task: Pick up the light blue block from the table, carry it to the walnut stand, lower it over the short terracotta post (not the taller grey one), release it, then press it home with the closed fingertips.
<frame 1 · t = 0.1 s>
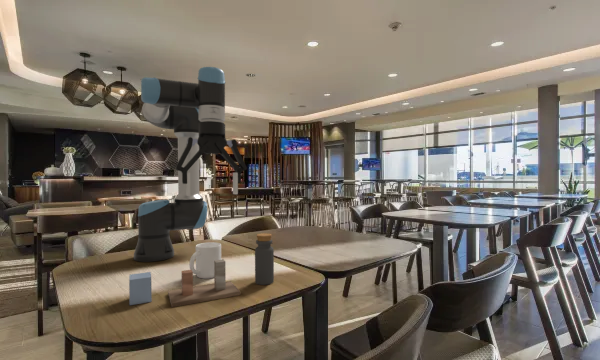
hand: (212, 195, 94), 28 cm above the table, fingers open, 13 cm apart
mug: (204, 277, 107), on the table
light blue block: (140, 300, 87), on the table
bottle: (264, 282, 101), on the table
stand: (204, 294, 91), on the table
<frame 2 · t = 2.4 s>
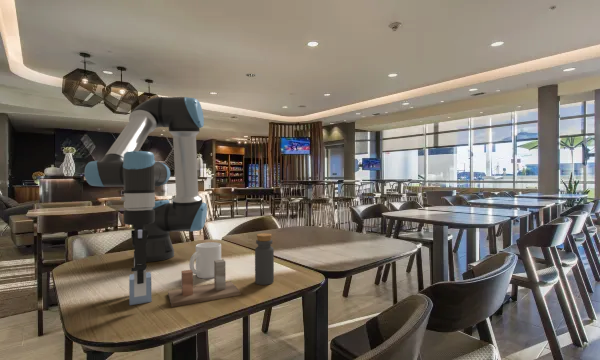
hand: (139, 287, 86), 3 cm above the table, fingers open, 13 cm apart
nothing on the table moved.
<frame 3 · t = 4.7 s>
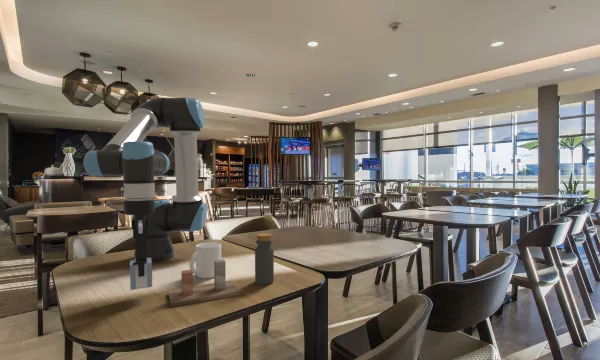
hand: (141, 283, 87), 4 cm above the table, fingers closed on light blue block, 5 cm apart
light blue block: (141, 285, 87), point 4 cm above the table, touching gripper
everything else where it was.
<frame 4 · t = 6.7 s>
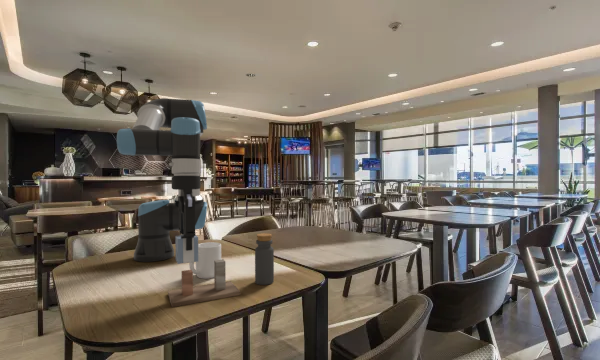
hand: (186, 259, 88), 11 cm above the table, fingers closed on light blue block, 5 cm apart
light blue block: (186, 260, 88), point 10 cm above the table, touching gripper
everything else where it was.
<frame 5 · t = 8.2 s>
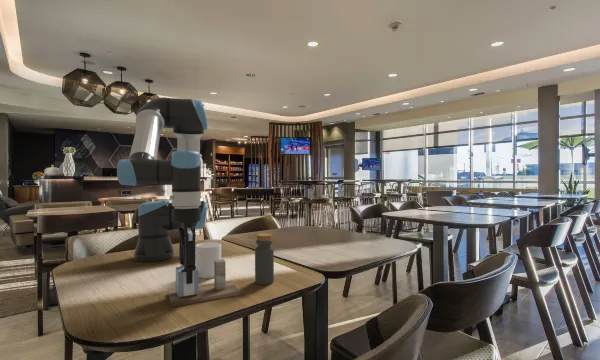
hand: (187, 291, 88), 2 cm above the table, fingers closed on light blue block, 5 cm apart
light blue block: (187, 292, 88), point 1 cm above the table, touching gripper
everything else where it was.
when the fingers open (1 cm above the table, at t = 8.9 s): light blue block stays where it is, resting on stand.
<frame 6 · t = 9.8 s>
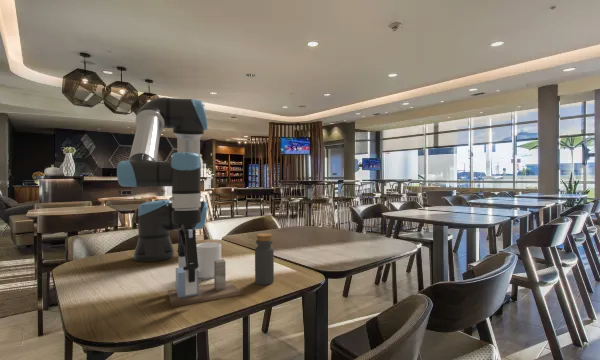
hand: (187, 285, 88), 3 cm above the table, fingers open, 13 cm apart
light blue block: (187, 293, 88), point 1 cm above the table, touching stand
everything else where it was.
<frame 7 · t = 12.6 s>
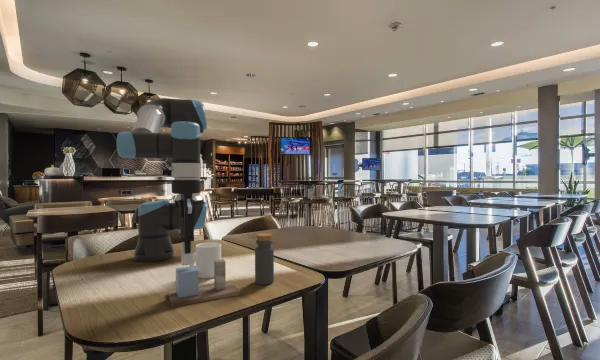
hand: (187, 264, 89), 9 cm above the table, fingers closed
nothing on the table moved.
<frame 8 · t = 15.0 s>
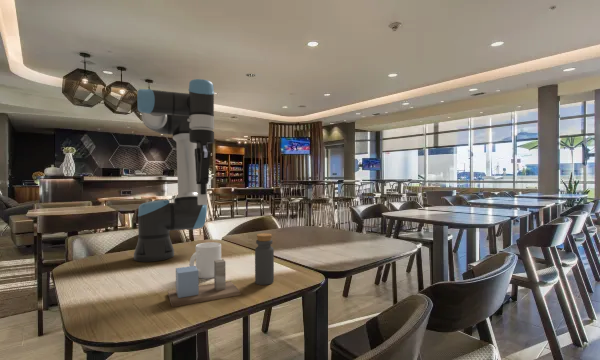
hand: (202, 204, 102), 24 cm above the table, fingers closed
nothing on the table moved.
at the end: light blue block 0.0 cm from the target spot, point 1.2 cm above the table; light blue block tilted 0°; the gripper is holding nothing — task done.
